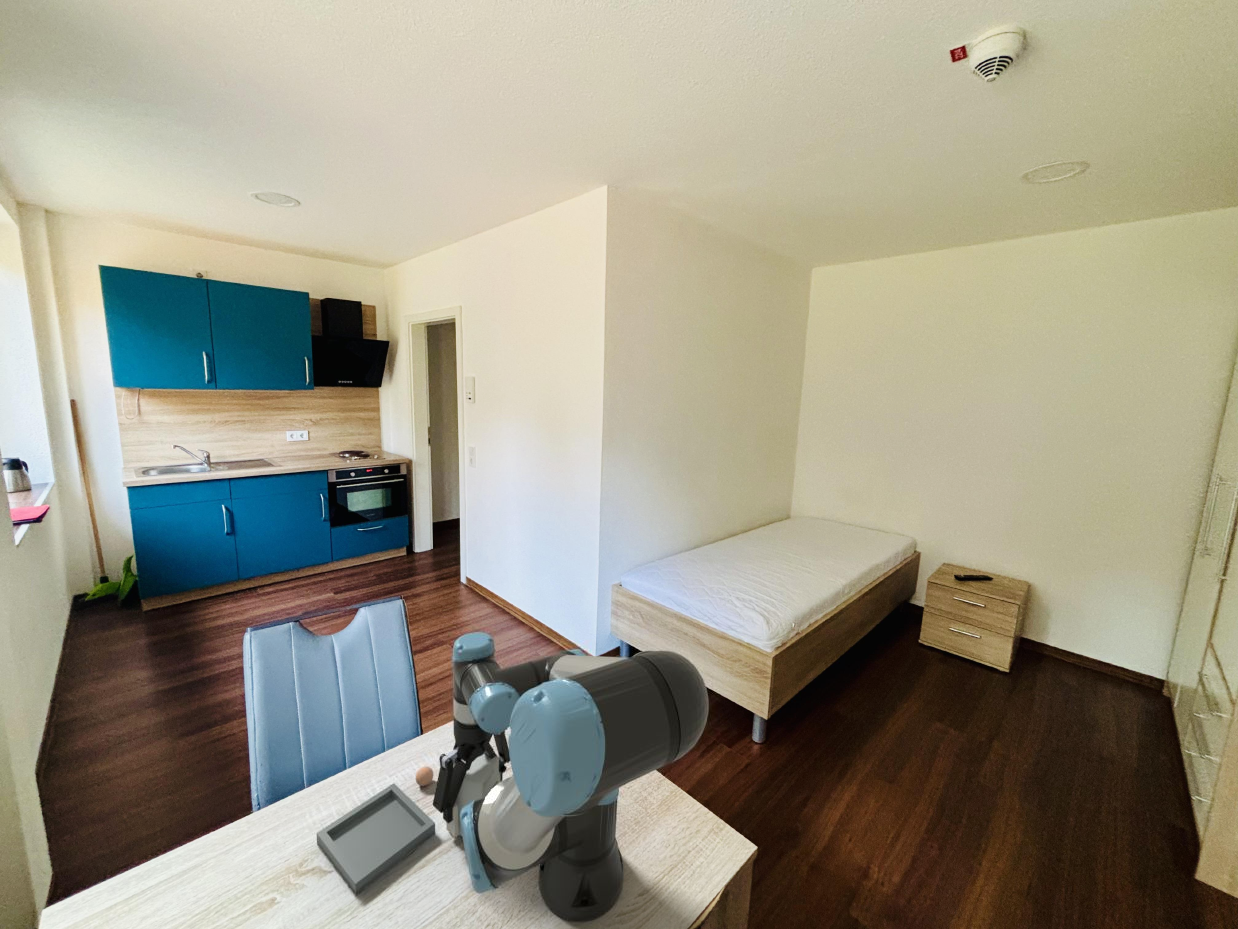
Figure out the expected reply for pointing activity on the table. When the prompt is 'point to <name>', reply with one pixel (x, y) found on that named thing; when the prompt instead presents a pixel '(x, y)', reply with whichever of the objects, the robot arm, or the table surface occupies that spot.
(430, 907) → the table surface
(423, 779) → the mixing ball
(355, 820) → the tray
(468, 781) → the supplement box
